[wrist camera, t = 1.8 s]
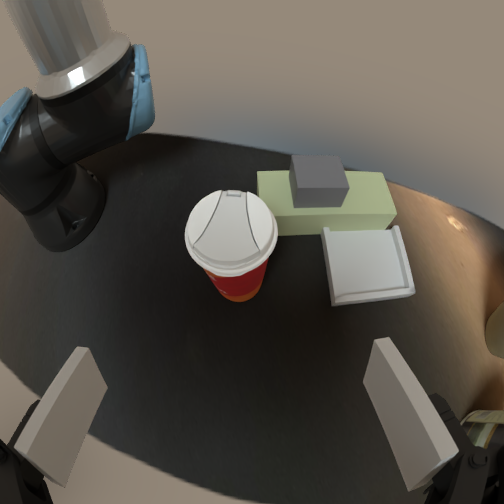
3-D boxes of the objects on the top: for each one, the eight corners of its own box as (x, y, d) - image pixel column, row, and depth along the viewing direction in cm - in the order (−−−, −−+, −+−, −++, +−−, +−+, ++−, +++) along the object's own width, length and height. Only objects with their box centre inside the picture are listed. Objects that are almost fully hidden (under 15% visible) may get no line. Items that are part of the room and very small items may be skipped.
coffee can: (454, 481, 20) (513, 499, 7) (439, 442, 24) (508, 454, 11) (494, 437, 21) (554, 439, 9) (482, 396, 25) (548, 389, 13)
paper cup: (212, 250, 36) (191, 182, 23) (271, 254, 36) (280, 186, 23) (204, 308, 33) (171, 265, 20) (267, 314, 32) (276, 274, 20)
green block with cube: (265, 311, 32) (268, 289, 24) (257, 193, 40) (257, 150, 31) (409, 296, 33) (445, 273, 25) (381, 193, 40) (402, 155, 32)
